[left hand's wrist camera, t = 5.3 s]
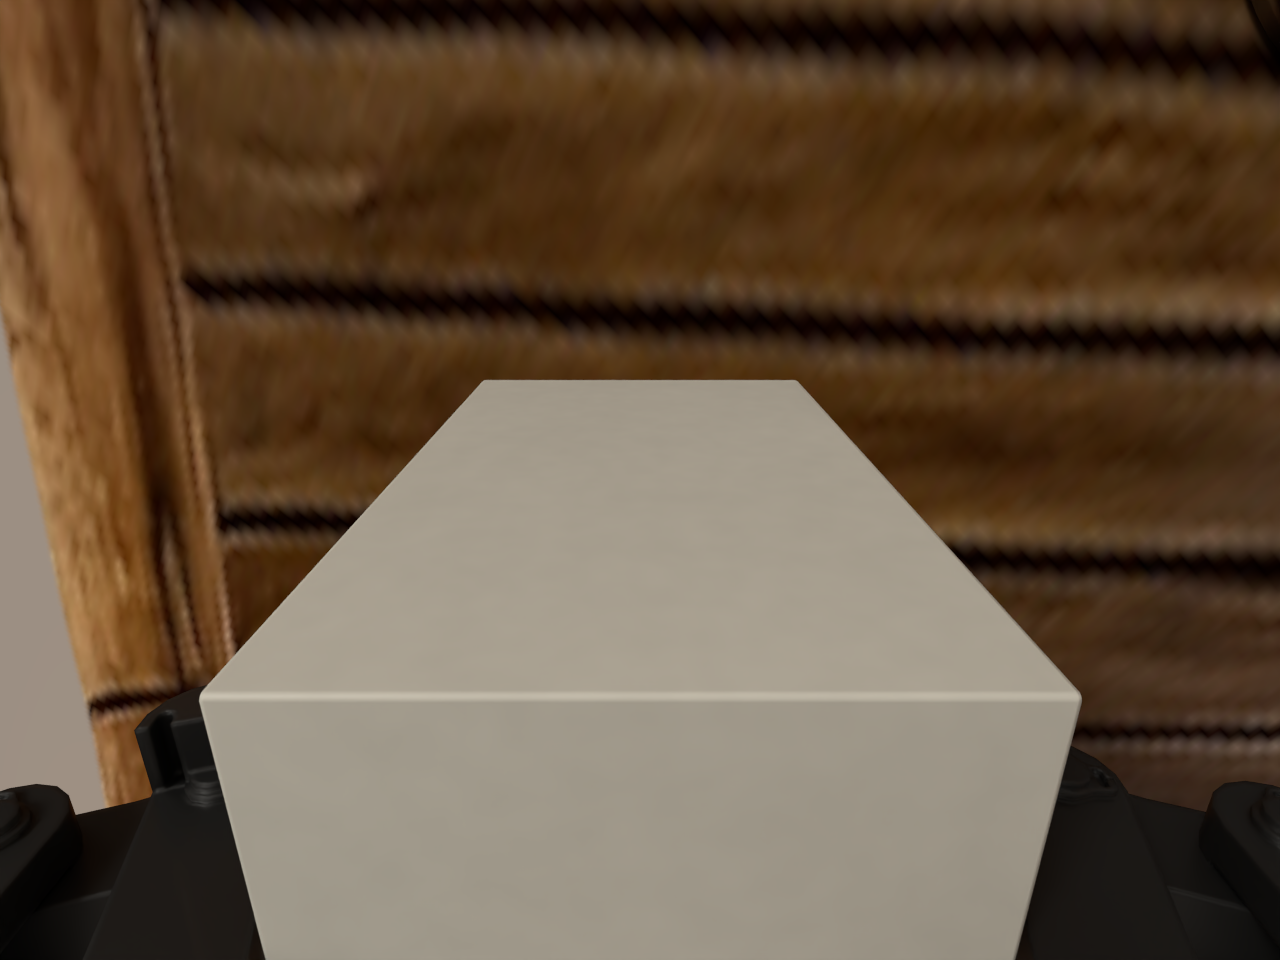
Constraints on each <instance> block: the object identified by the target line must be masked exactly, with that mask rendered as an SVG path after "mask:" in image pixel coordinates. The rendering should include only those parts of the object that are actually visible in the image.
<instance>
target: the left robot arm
mask: <svg viewBox="0 0 1280 960" xmlns="http://www.w3.org/2000/svg"><path fill="white" fill-rule="evenodd" d="M1251 1H1252V4H1253V7H1254V9H1255V12H1256V15H1257V17H1258V18H1259V20H1260V22H1261V24H1262V26H1263V28H1264V30H1265V32H1266V34H1267V36H1268V37H1269V39H1270V40H1271V42H1272V43H1273V44H1274V46H1275V47H1276V49H1277V50H1278V52H1279V53H1280V0H1251ZM206 687H207V685H206V686H202V687H198V688H194V689H191V690H189V691H187V692H185V693H182V694H180V695H178V696H176V697H173V698H171V699H169V700H167V701H166V702H164V703H163V704H161V705H160V706H159V707H157V708H156V709H154V710H153V711H151V712H150V713H149V714H147V715H146V717H145V718H144V719H143V720H142V722H141V723H140V724H139V725H138V726H137V728H136V729H135V730H134V731H135V735H136V738H137V741H138V745H139V748H140V751H141V755H142V758H143V761H144V765H145V768H146V771H147V775H148V778H149V781H150V785H151V788H152V791H153V793H152V795H151V797H149V798H146V799H143V800H139V801H136V802H131V803H127V804H122V805H118V806H114V807H109V808H105V809H100V810H96V811H91V812H87V813H82V814H78V815H75V812H74V809H73V806H72V803H71V801H70V798H69V795H68V794H66V793H65V792H64V791H63V790H61V789H60V788H59V787H57V786H50V785H41V784H33V785H27V786H21V787H15V788H9V789H6V790H3V791H0V960H266V959H265V955H264V952H263V948H262V944H261V940H260V936H259V932H258V928H257V924H256V920H255V917H254V913H253V909H252V905H251V901H250V897H249V893H248V889H247V885H246V882H245V878H244V874H243V870H242V866H241V862H240V858H239V854H238V850H237V846H236V843H235V839H234V835H233V831H232V827H231V823H230V819H229V815H228V811H227V808H226V804H225V800H224V796H223V792H222V788H221V784H220V780H219V776H218V773H217V769H216V765H215V761H214V757H213V753H212V749H211V745H210V741H209V738H208V734H207V730H206V726H205V722H204V718H203V714H202V710H201V706H200V703H199V698H200V694H201V692H202V691H203V690H204V689H205V688H206ZM1015 960H1280V788H1279V787H1276V786H1273V785H1267V784H1261V783H1255V782H1249V781H1241V782H1232V783H1224V784H1223V785H1222V786H1221V787H1219V788H1218V789H1217V790H1215V791H1214V792H1213V794H1212V797H1211V800H1210V803H1209V805H1208V808H1207V811H1206V812H1203V811H1199V810H1194V809H1190V808H1185V807H1181V806H1176V805H1172V804H1167V803H1163V802H1158V801H1154V800H1150V799H1145V798H1142V797H1138V796H1135V795H1131V794H1128V792H1127V790H1126V789H1125V787H1124V786H1123V784H1122V783H1121V781H1120V780H1119V779H1118V777H1117V776H1116V774H1115V773H1113V772H1112V771H1111V770H1110V769H1108V768H1107V767H1106V766H1105V765H1103V764H1102V763H1101V762H1100V761H1098V760H1097V759H1096V758H1094V757H1092V756H1090V755H1088V754H1086V753H1084V752H1082V751H1080V750H1078V749H1076V748H1074V747H1072V746H1070V749H1069V753H1068V757H1067V761H1066V765H1065V769H1064V773H1063V777H1062V780H1061V784H1060V788H1059V792H1058V796H1057V800H1056V804H1055V808H1054V812H1053V815H1052V819H1051V823H1050V827H1049V831H1048V835H1047V839H1046V843H1045V846H1044V850H1043V854H1042V858H1041V862H1040V866H1039V870H1038V874H1037V877H1036V881H1035V885H1034V889H1033V893H1032V897H1031V901H1030V905H1029V908H1028V912H1027V916H1026V920H1025V924H1024V928H1023V932H1022V936H1021V939H1020V943H1019V947H1018V951H1017V955H1016V959H1015Z"/></svg>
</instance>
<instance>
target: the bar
mask: <svg viewBox="0 0 1280 960" xmlns="http://www.w3.org/2000/svg"><path fill="white" fill-rule="evenodd" d="M199 703H200V706H201V710H202V714H203V718H204V722H205V726H206V730H207V734H208V738H209V741H210V745H211V749H212V753H213V757H214V761H215V765H216V769H217V773H218V776H219V780H220V784H221V788H222V792H223V796H224V800H225V804H226V808H227V811H228V815H229V819H230V823H231V827H232V831H233V835H234V839H235V843H236V846H237V850H238V854H239V858H240V862H241V866H242V870H243V874H244V878H245V882H246V885H247V889H248V893H249V897H250V901H251V905H252V909H253V913H254V917H255V920H256V924H257V928H258V932H259V936H260V940H261V944H262V948H263V952H264V955H265V959H266V960H1015V959H1016V955H1017V951H1018V947H1019V943H1020V939H1021V936H1022V932H1023V928H1024V924H1025V920H1026V916H1027V912H1028V908H1029V905H1030V901H1031V897H1032V893H1033V889H1034V885H1035V881H1036V877H1037V874H1038V870H1039V866H1040V862H1041V858H1042V854H1043V850H1044V846H1045V843H1046V839H1047V835H1048V831H1049V827H1050V823H1051V819H1052V815H1053V812H1054V808H1055V804H1056V800H1057V796H1058V792H1059V788H1060V784H1061V780H1062V777H1063V773H1064V769H1065V765H1066V761H1067V757H1068V753H1069V749H1070V746H1071V742H1072V738H1073V734H1074V730H1075V726H1076V722H1077V718H1078V715H1079V711H1080V707H1081V703H1082V698H1081V694H1080V692H1079V691H1078V690H1077V689H1076V688H1075V687H1074V685H1073V684H1072V683H1071V682H1070V681H1069V680H1068V679H1067V678H1066V677H1065V676H1064V674H1063V673H1062V672H1061V671H1060V670H1059V669H1058V668H1057V667H1056V666H1055V665H1054V663H1053V662H1052V661H1051V660H1050V659H1049V658H1048V657H1047V656H1046V655H1045V654H1044V652H1043V651H1042V650H1041V649H1040V648H1039V647H1038V646H1037V645H1036V644H1035V642H1034V641H1033V640H1032V639H1031V638H1030V637H1029V636H1028V635H1027V634H1026V633H1025V631H1024V630H1023V629H1022V628H1021V627H1020V626H1019V625H1018V624H1017V623H1016V622H1015V620H1014V619H1013V618H1012V617H1011V616H1010V615H1009V614H1008V613H1007V612H1006V611H1005V609H1004V608H1003V607H1002V606H1001V605H1000V604H999V603H998V602H997V601H996V599H995V598H994V597H993V596H992V595H991V594H990V593H989V592H988V591H987V590H986V588H985V587H984V586H983V585H982V584H981V583H980V582H979V581H978V580H977V579H976V577H975V576H974V575H973V574H972V573H971V572H970V571H969V570H968V569H967V568H966V566H965V565H964V564H963V563H962V562H961V561H960V560H959V559H958V558H957V556H956V555H955V554H954V553H953V552H952V551H951V550H950V549H949V548H948V547H947V545H946V544H945V543H944V542H943V541H942V540H941V539H940V538H939V537H938V536H937V534H936V533H935V532H934V531H933V530H932V529H931V528H930V527H929V526H928V525H927V523H926V522H925V521H924V520H923V519H922V518H921V517H920V516H919V515H918V513H917V512H916V511H915V510H914V509H913V508H912V507H911V506H910V505H909V504H908V502H907V501H906V500H905V499H904V498H903V497H902V496H901V495H900V494H899V493H898V491H897V490H896V489H895V488H894V487H893V486H892V485H891V484H890V483H889V482H888V480H887V479H886V478H885V477H884V476H883V475H882V474H881V473H880V472H879V470H878V469H877V468H876V467H875V466H874V465H873V464H872V463H871V462H870V461H869V459H868V458H867V457H866V456H865V455H864V454H863V453H862V452H861V451H860V450H859V448H858V447H857V446H856V445H855V444H854V443H853V442H852V441H851V440H850V439H849V437H848V436H847V435H846V434H845V433H844V432H843V431H842V430H841V429H840V427H839V426H838V425H837V424H836V423H835V422H834V421H833V420H832V419H831V418H830V416H829V415H828V414H827V413H826V412H825V411H824V410H823V409H822V408H821V407H820V405H819V404H818V403H817V402H816V401H815V400H814V399H813V398H812V397H811V396H810V394H809V393H808V392H807V391H806V390H805V389H804V388H803V387H802V386H801V384H800V383H799V382H798V381H796V380H484V381H483V382H482V383H481V384H480V385H479V386H478V387H477V388H476V389H475V391H474V392H473V393H472V394H471V395H470V396H469V397H468V398H467V399H466V400H465V402H464V403H463V404H462V405H461V406H460V407H459V408H458V409H457V410H456V411H455V413H454V414H453V415H452V416H451V417H450V418H449V419H448V420H447V421H446V423H445V424H444V425H443V426H442V427H441V428H440V429H439V430H438V431H437V432H436V434H435V435H434V436H433V437H432V438H431V439H430V440H429V441H428V442H427V444H426V445H425V446H424V447H423V448H422V449H421V450H420V451H419V452H418V453H417V455H416V456H415V457H414V458H413V459H412V460H411V461H410V462H409V463H408V465H407V466H406V467H405V468H404V469H403V470H402V471H401V472H400V473H399V474H398V476H397V477H396V478H395V479H394V480H393V481H392V482H391V483H390V484H389V485H388V487H387V488H386V489H385V490H384V491H383V492H382V493H381V494H380V495H379V497H378V498H377V499H376V500H375V501H374V502H373V503H372V504H371V505H370V506H369V508H368V509H367V510H366V511H365V512H364V513H363V514H362V515H361V516H360V518H359V519H358V520H357V521H356V522H355V523H354V524H353V525H352V526H351V527H350V529H349V530H348V531H347V532H346V533H345V534H344V535H343V536H342V537H341V539H340V540H339V541H338V542H337V543H336V544H335V545H334V546H333V547H332V548H331V550H330V551H329V552H328V553H327V554H326V555H325V556H324V557H323V558H322V560H321V561H320V562H319V563H318V564H317V565H316V566H315V567H314V568H313V569H312V571H311V572H310V573H309V574H308V575H307V576H306V577H305V578H304V579H303V580H302V582H301V583H300V584H299V585H298V586H297V587H296V588H295V589H294V590H293V592H292V593H291V594H290V595H289V596H288V597H287V598H286V599H285V600H284V601H283V603H282V604H281V605H280V606H279V607H278V608H277V609H276V610H275V611H274V613H273V614H272V615H271V616H270V617H269V618H268V619H267V620H266V621H265V622H264V624H263V625H262V626H261V627H260V628H259V629H258V630H257V631H256V632H255V634H254V635H253V636H252V637H251V638H250V639H249V640H248V641H247V642H246V643H245V645H244V646H243V647H242V648H241V649H240V650H239V651H238V652H237V653H236V654H235V656H234V657H233V658H232V659H231V660H230V661H229V662H228V663H227V664H226V666H225V667H224V668H223V669H222V670H221V671H220V672H219V673H218V674H217V675H216V677H215V678H214V679H213V680H212V681H211V682H210V683H209V684H208V685H207V687H206V688H205V689H204V690H203V691H202V692H201V694H200V698H199Z"/></svg>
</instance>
